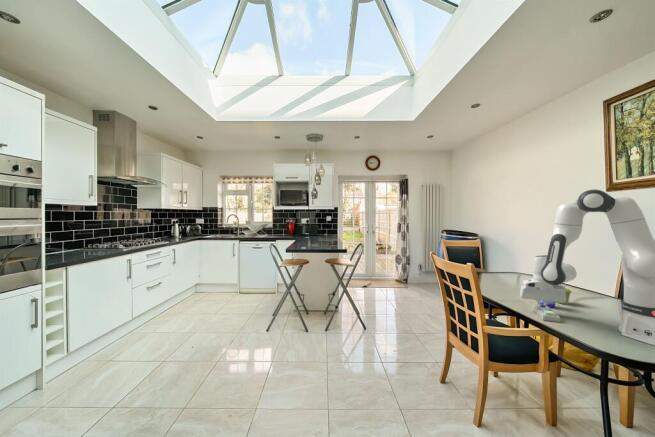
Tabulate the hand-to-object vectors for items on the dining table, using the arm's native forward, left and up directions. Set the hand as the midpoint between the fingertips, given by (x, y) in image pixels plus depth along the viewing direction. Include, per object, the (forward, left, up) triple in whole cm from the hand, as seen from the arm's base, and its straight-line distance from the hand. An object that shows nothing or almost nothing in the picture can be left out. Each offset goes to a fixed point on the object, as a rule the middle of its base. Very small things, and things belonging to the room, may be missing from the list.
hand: (542, 308), depth 147 cm
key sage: (-9, +5, 0) cm, 10 cm away
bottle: (+8, -12, -3) cm, 15 cm away
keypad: (-4, +2, -2) cm, 6 cm away
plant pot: (+12, -26, -3) cm, 29 cm away
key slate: (-4, +2, 0) cm, 5 cm away
